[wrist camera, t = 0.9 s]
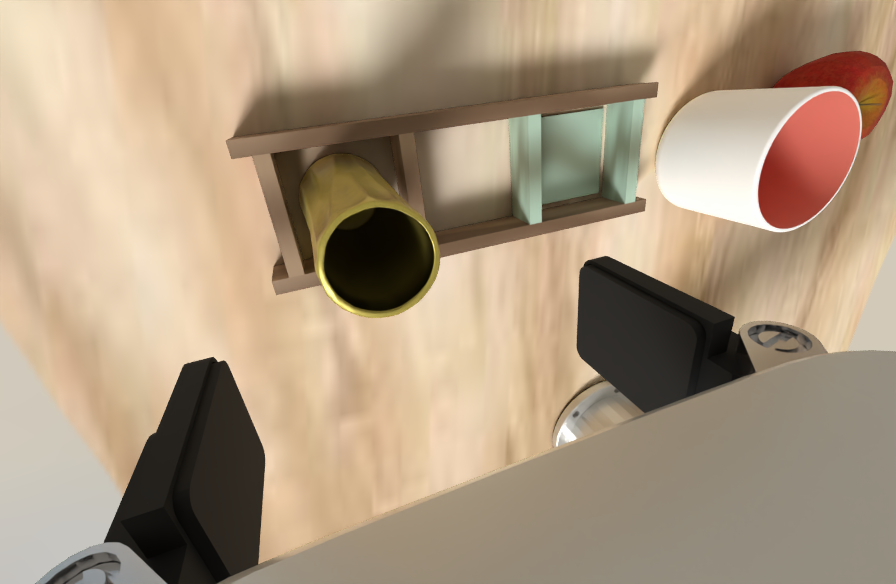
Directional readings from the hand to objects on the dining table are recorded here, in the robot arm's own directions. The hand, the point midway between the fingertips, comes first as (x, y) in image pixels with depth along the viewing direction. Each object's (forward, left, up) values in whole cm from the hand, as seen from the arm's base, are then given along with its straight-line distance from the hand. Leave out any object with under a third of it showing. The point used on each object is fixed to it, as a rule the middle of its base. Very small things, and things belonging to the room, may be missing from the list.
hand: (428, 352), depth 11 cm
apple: (-29, -30, -22) cm, 47 cm away
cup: (-24, -21, -22) cm, 39 cm away
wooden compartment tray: (-7, -6, -22) cm, 24 cm away
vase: (0, 0, -22) cm, 22 cm away
